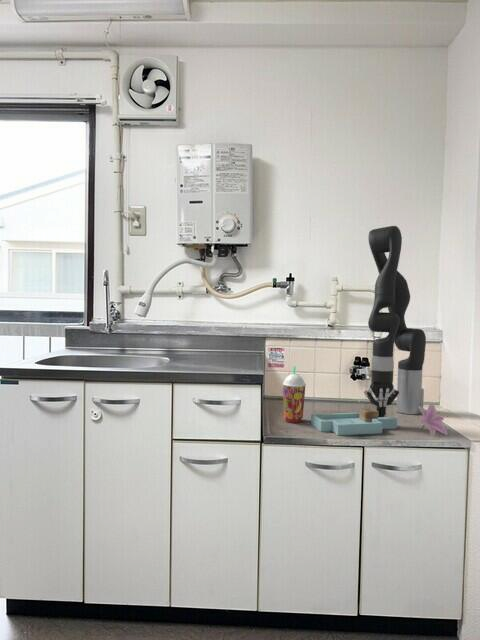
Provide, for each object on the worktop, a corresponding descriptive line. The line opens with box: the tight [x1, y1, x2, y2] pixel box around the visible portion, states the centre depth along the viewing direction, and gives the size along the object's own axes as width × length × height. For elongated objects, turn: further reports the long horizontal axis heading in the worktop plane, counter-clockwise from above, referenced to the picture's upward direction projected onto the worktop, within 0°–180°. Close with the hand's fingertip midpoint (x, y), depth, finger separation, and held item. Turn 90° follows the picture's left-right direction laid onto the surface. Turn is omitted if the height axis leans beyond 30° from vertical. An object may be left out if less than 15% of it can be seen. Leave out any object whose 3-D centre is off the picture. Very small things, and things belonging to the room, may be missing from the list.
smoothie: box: [282, 365, 307, 424], centre depth 190 cm, size 8×8×20 cm
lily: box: [417, 401, 448, 437], centre depth 178 cm, size 12×12×10 cm
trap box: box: [310, 412, 398, 436], centre depth 182 cm, size 28×15×4 cm, turn 102°
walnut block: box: [358, 407, 379, 422], centre depth 186 cm, size 5×5×4 cm
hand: (380, 416), depth 187 cm, fingers closed
